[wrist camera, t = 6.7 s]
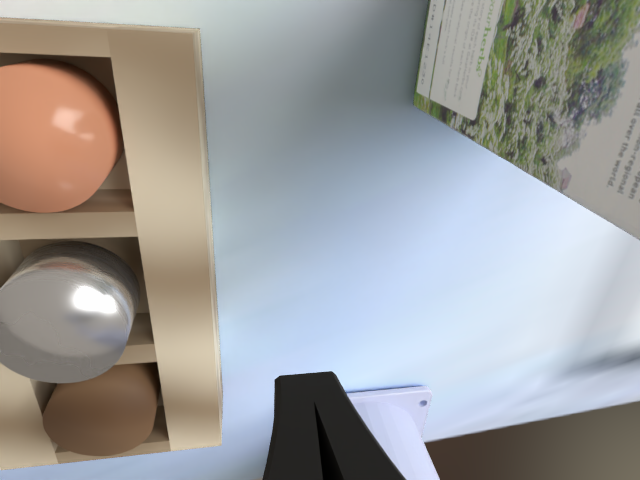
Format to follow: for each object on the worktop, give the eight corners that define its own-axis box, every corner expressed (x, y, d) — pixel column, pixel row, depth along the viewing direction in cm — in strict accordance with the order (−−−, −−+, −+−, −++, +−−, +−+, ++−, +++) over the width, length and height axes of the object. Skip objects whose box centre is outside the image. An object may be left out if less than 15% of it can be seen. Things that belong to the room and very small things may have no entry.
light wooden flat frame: (222, 394, 22) (221, 445, 20) (30, 411, 21) (1, 470, 18) (200, 28, 14) (192, 33, 12) (-114, 10, 13) (-202, 11, 10)
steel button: (147, 331, 17) (134, 377, 15) (31, 338, 16) (1, 388, 14) (132, 239, 15) (115, 277, 13) (1, 242, 14) (-39, 283, 12)
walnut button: (166, 404, 20) (159, 450, 18) (74, 413, 20) (55, 461, 18) (157, 338, 19) (147, 380, 16) (54, 345, 18) (30, 390, 16)
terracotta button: (133, 183, 15) (117, 211, 13) (7, 184, 15) (-31, 213, 12) (115, 61, 13) (94, 71, 11) (-30, 55, 13) (-82, 65, 11)
